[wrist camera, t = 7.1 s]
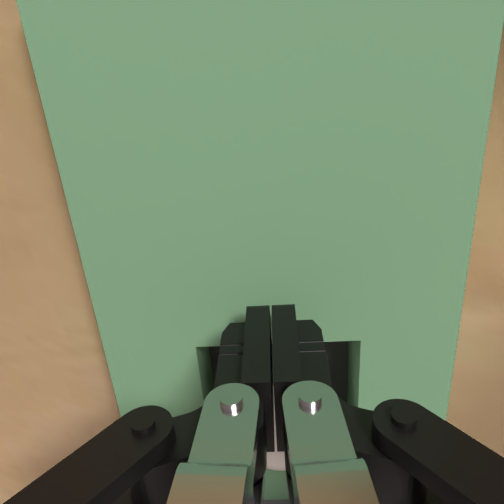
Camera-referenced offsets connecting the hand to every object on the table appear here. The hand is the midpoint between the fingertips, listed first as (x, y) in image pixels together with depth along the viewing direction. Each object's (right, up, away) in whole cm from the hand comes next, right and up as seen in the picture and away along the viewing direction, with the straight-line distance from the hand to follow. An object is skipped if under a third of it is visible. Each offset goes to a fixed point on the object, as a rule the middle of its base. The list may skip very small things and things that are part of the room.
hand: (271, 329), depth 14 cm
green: (0, +2, +3) cm, 4 cm away
